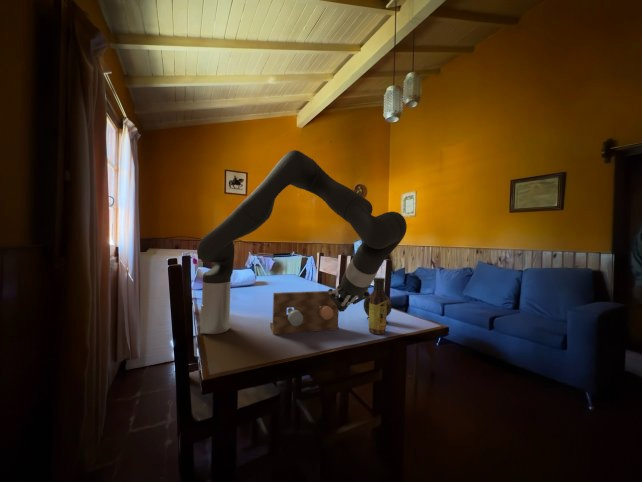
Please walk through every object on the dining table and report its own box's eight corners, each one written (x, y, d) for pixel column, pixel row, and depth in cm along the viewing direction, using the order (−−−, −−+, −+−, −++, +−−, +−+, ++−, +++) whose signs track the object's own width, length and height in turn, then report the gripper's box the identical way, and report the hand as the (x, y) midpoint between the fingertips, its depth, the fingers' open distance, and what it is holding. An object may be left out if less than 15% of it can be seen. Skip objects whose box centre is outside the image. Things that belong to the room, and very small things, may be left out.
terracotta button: (313, 312, 103) (313, 300, 103) (323, 311, 104) (324, 300, 104) (321, 320, 93) (321, 307, 93) (333, 319, 95) (333, 306, 94)
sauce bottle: (382, 336, 94) (384, 279, 94) (365, 332, 97) (367, 278, 97) (388, 331, 100) (390, 277, 99) (372, 327, 103) (374, 276, 103)
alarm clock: (391, 322, 110) (392, 283, 110) (387, 326, 106) (388, 284, 105) (366, 317, 116) (367, 280, 116) (361, 320, 111) (362, 281, 111)
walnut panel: (273, 334, 93) (274, 293, 92) (270, 326, 100) (271, 289, 100) (337, 329, 100) (339, 291, 100) (330, 322, 108) (331, 287, 107)
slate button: (283, 317, 95) (284, 304, 95) (295, 316, 96) (296, 304, 96) (289, 326, 86) (289, 312, 86) (302, 325, 87) (303, 311, 87)
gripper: (376, 263, 76) (356, 297, 88) (333, 263, 72) (317, 299, 84) (386, 285, 71) (363, 318, 83) (340, 287, 67) (322, 321, 79)
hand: (340, 308), depth 83 cm, fingers closed
